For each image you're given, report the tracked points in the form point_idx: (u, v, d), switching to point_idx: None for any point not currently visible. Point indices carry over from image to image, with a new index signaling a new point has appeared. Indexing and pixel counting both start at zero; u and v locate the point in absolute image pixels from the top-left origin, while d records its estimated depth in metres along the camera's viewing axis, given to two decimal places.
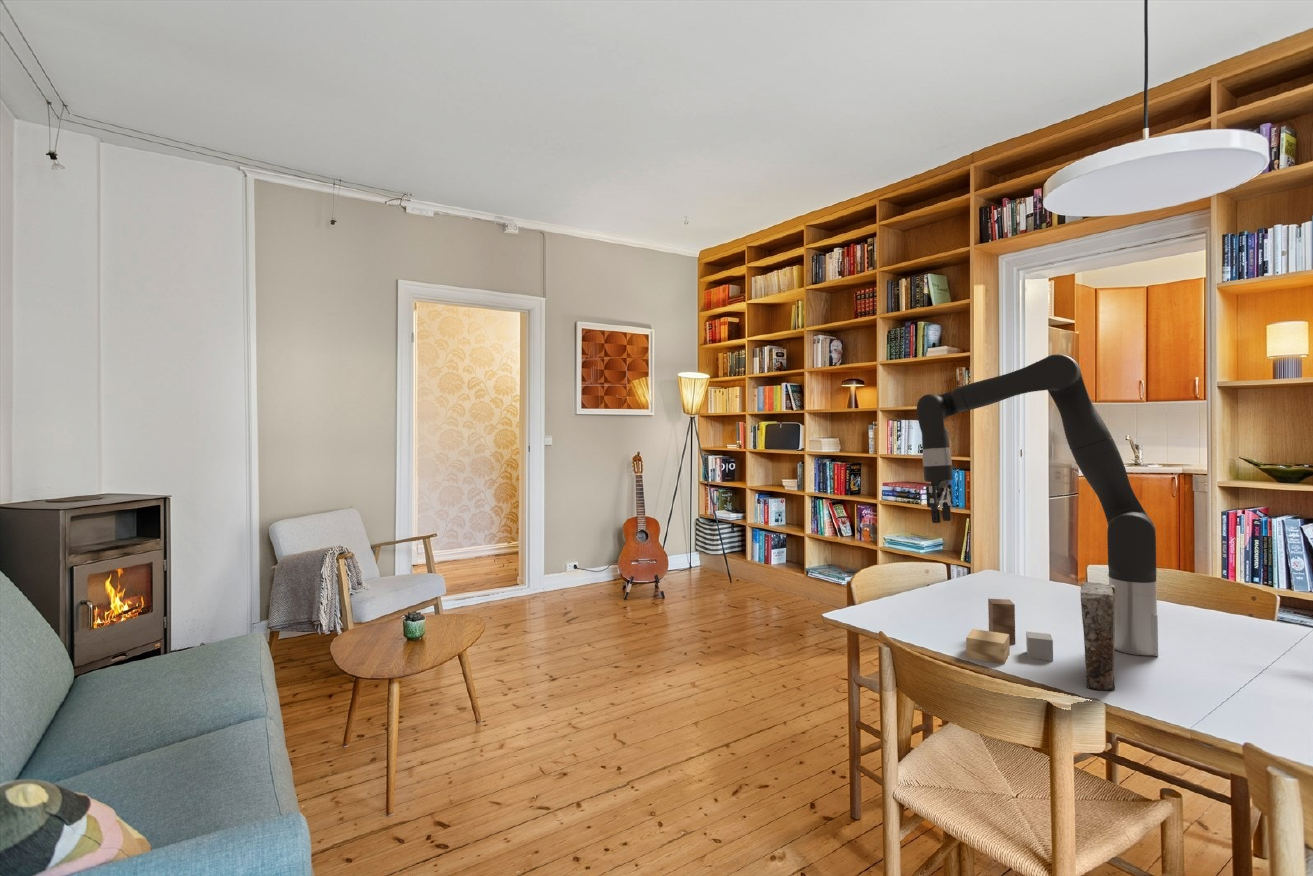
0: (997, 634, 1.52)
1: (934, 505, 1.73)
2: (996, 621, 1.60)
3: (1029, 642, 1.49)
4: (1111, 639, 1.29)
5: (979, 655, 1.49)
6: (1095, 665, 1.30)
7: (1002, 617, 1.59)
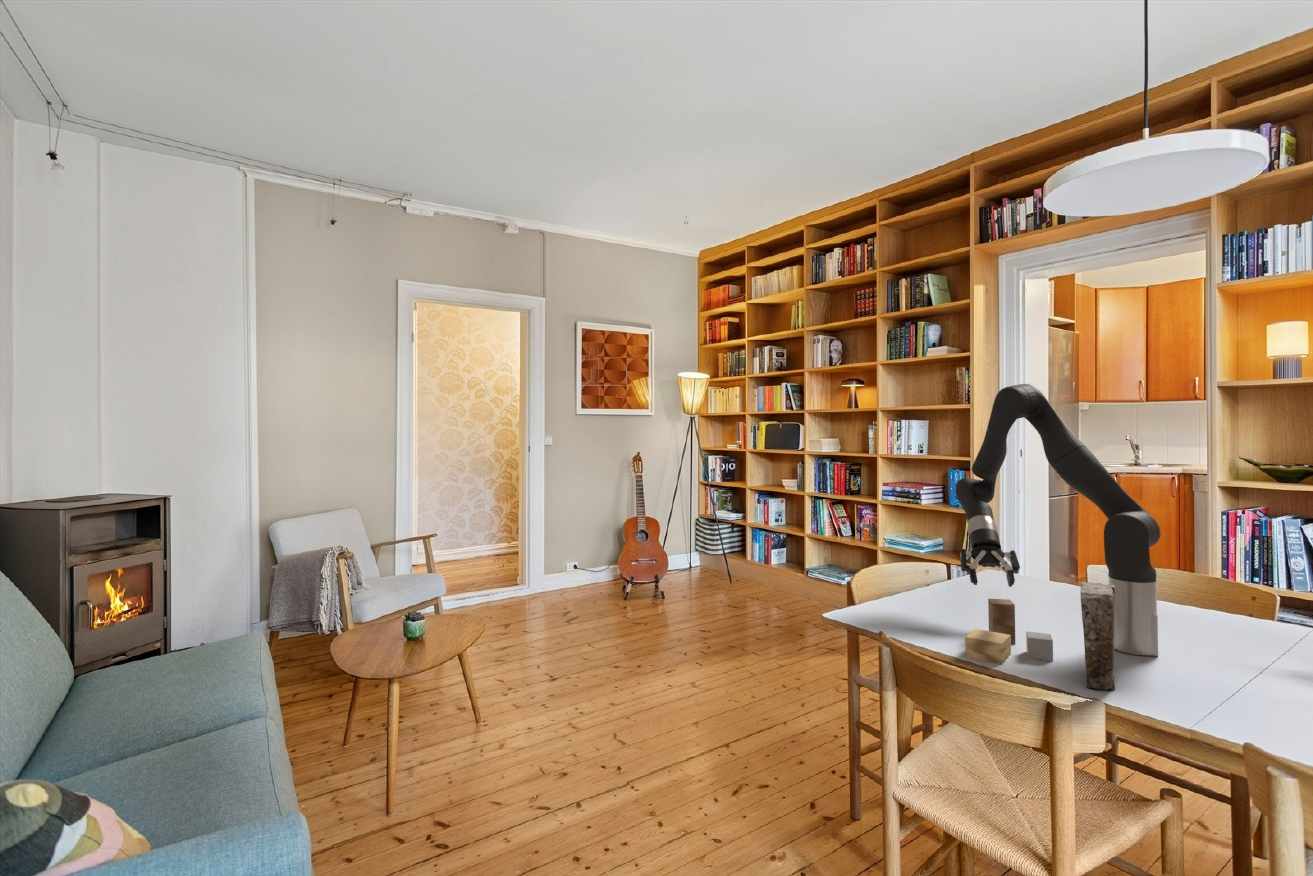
0: (998, 634, 1.52)
1: (962, 565, 1.75)
2: (996, 621, 1.60)
3: (1029, 642, 1.49)
4: (1111, 639, 1.29)
5: (978, 654, 1.49)
6: (1095, 665, 1.30)
7: (1002, 617, 1.59)
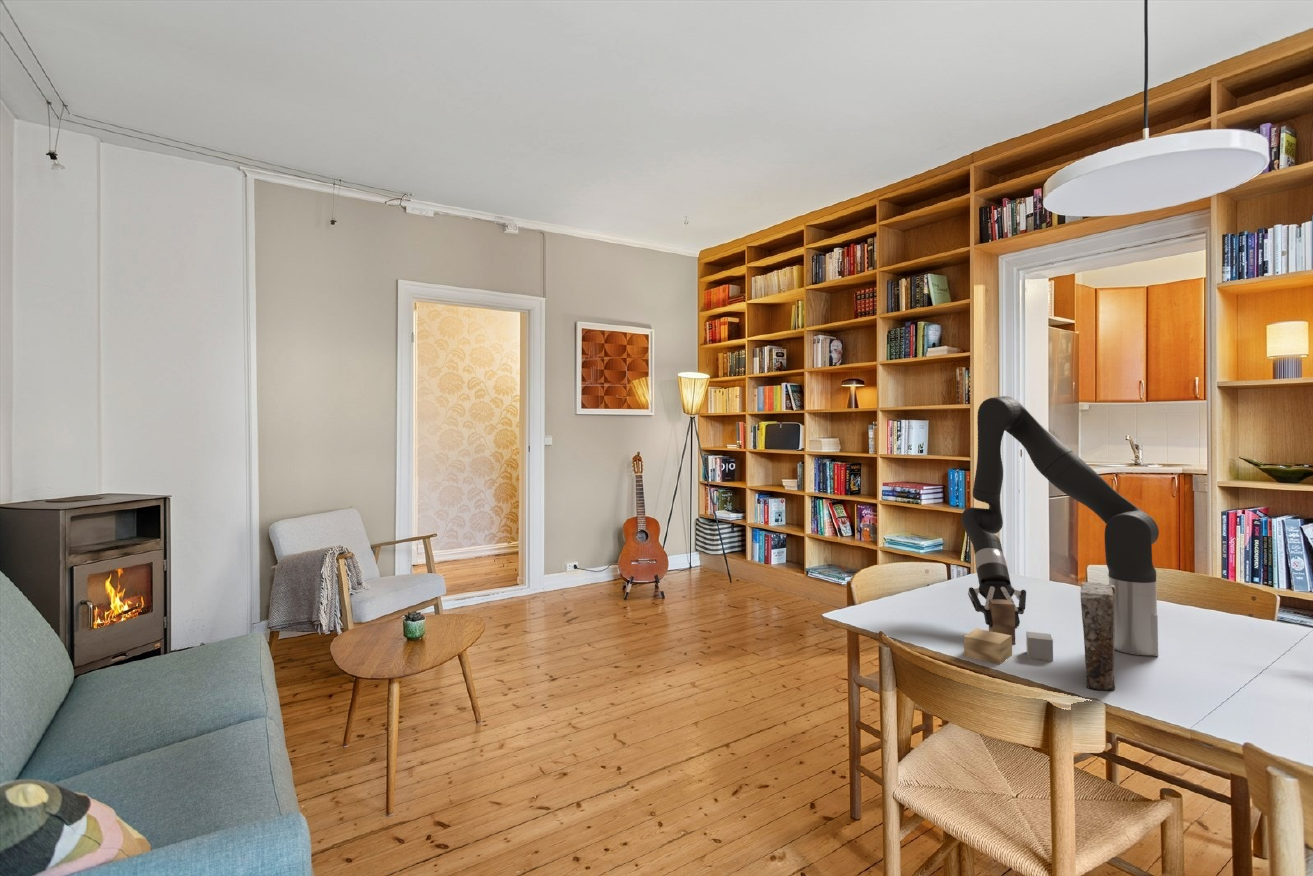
0: (999, 634, 1.52)
1: (976, 606, 1.64)
2: (996, 621, 1.60)
3: (1029, 642, 1.49)
4: (1111, 639, 1.29)
5: (976, 654, 1.49)
6: (1095, 665, 1.30)
7: (1002, 616, 1.59)
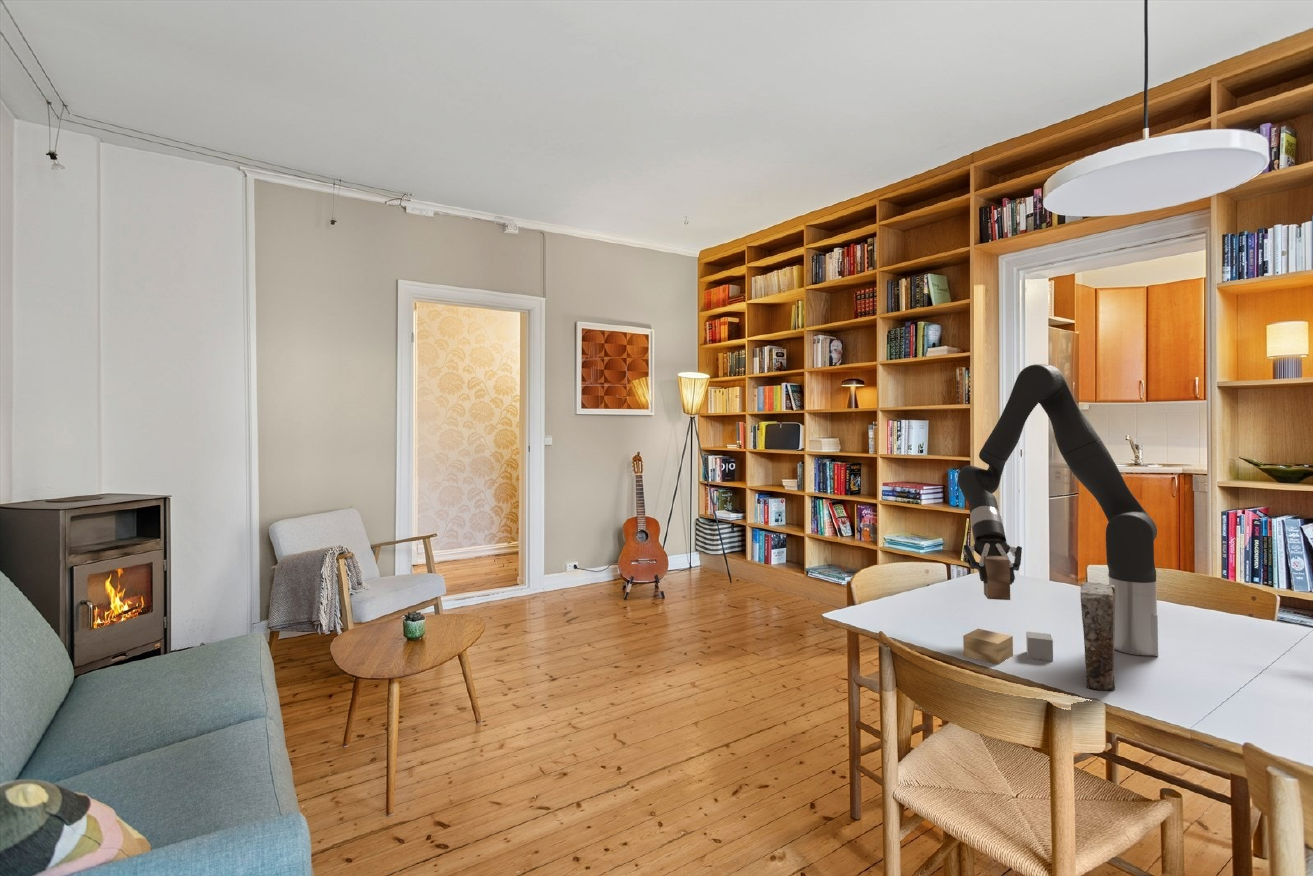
0: (1000, 635, 1.52)
1: (971, 563, 1.62)
2: (991, 577, 1.57)
3: (1029, 642, 1.49)
4: (1111, 639, 1.29)
5: (975, 653, 1.50)
6: (1095, 665, 1.30)
7: (997, 572, 1.57)
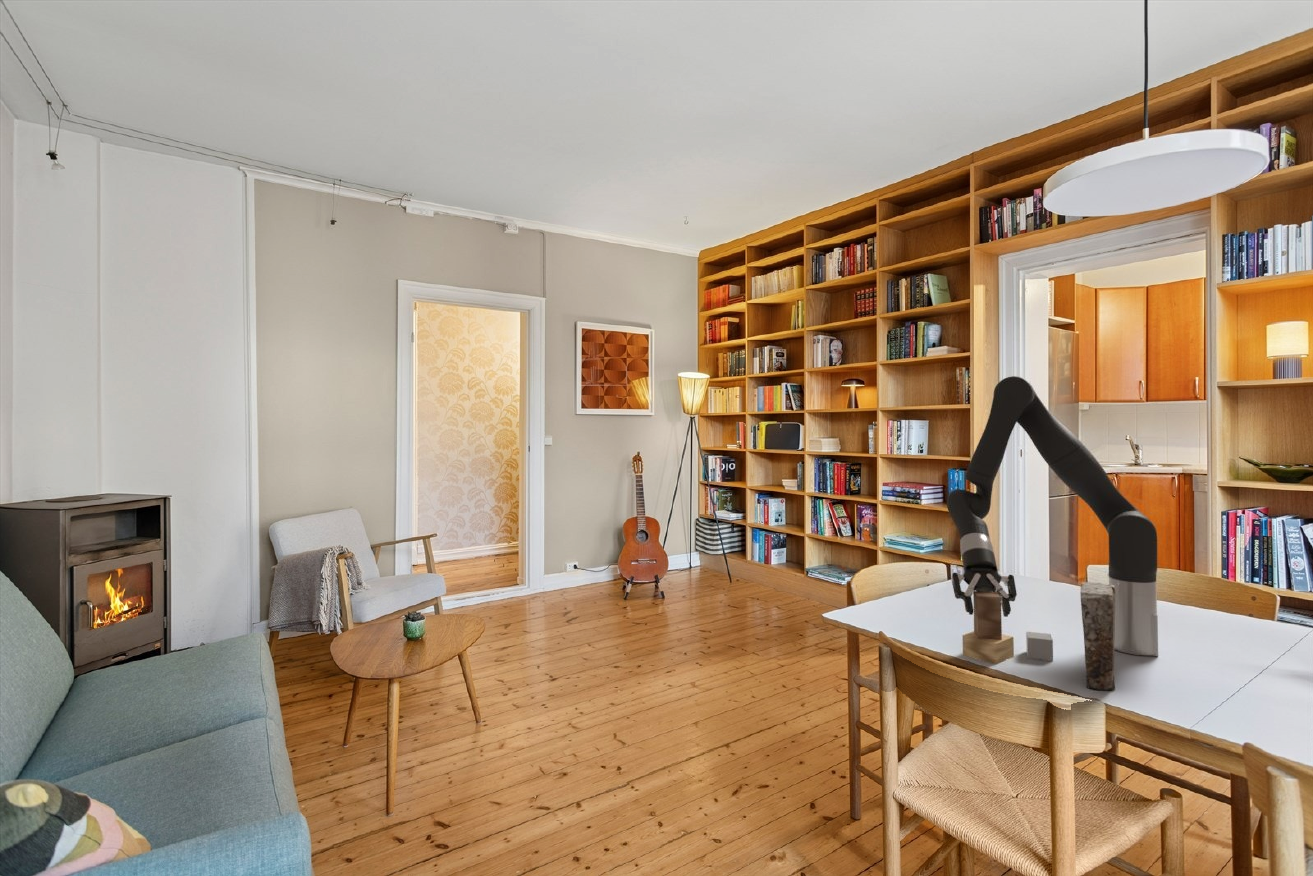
0: None
1: (956, 592, 1.54)
2: (981, 615, 1.49)
3: (1029, 642, 1.49)
4: (1111, 639, 1.29)
5: (974, 653, 1.50)
6: (1095, 665, 1.30)
7: (988, 610, 1.49)
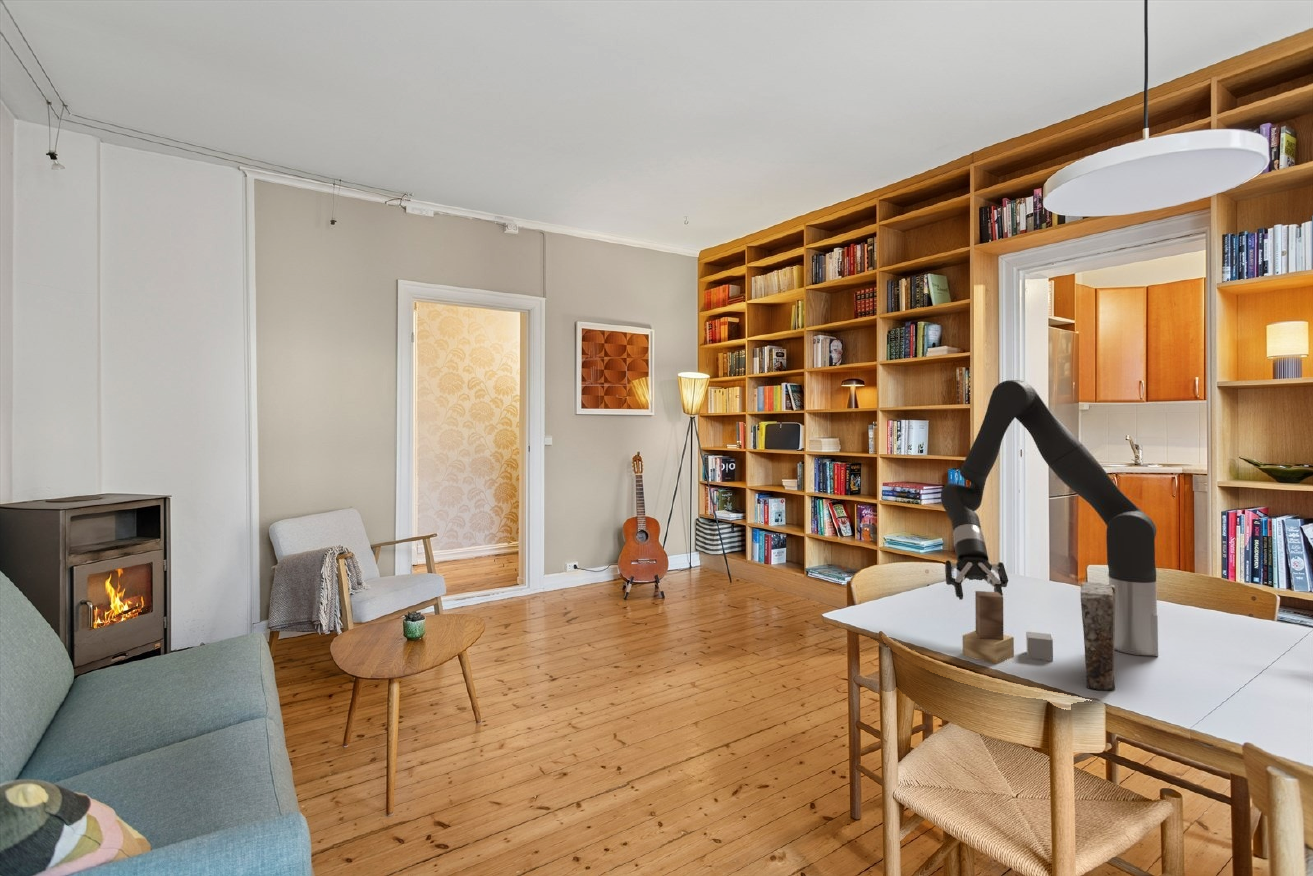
0: None
1: (947, 578, 1.64)
2: (983, 615, 1.49)
3: (1029, 642, 1.49)
4: (1111, 639, 1.29)
5: (974, 653, 1.50)
6: (1095, 665, 1.30)
7: (990, 610, 1.49)
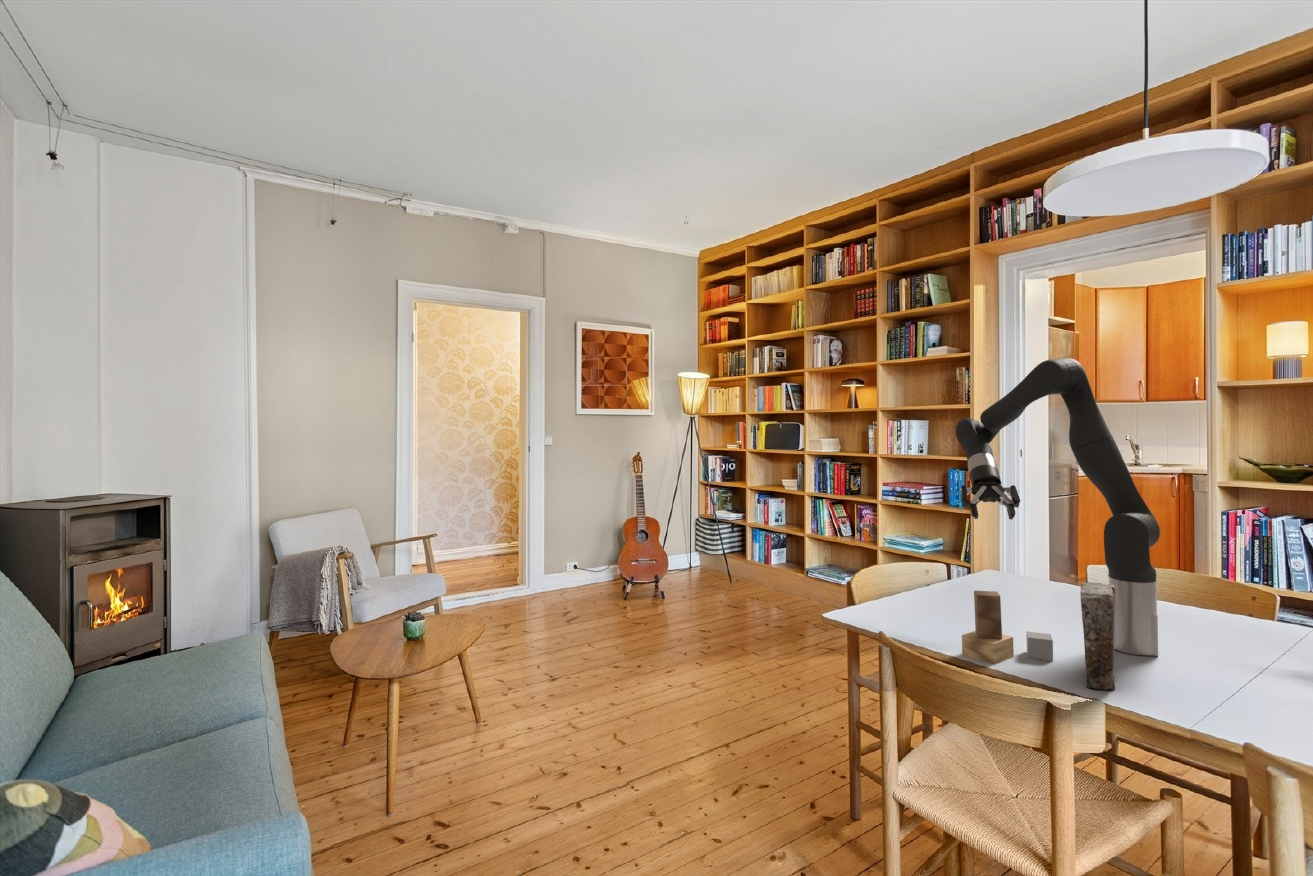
0: None
1: (962, 501, 1.76)
2: (981, 614, 1.50)
3: (1029, 642, 1.49)
4: (1111, 639, 1.29)
5: (973, 653, 1.50)
6: (1095, 665, 1.30)
7: (987, 609, 1.49)
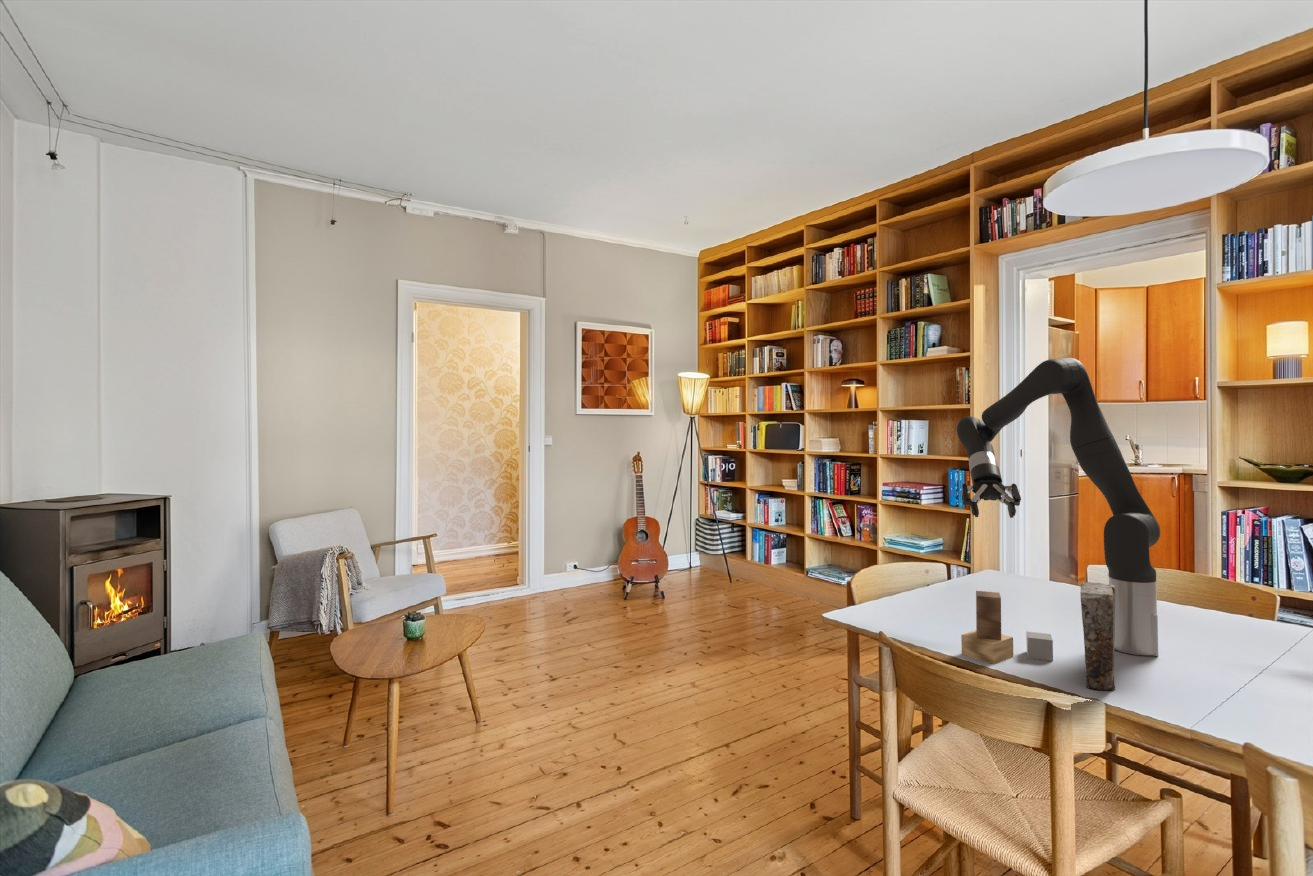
0: None
1: (963, 499, 1.76)
2: (981, 615, 1.49)
3: (1029, 642, 1.49)
4: (1111, 639, 1.29)
5: (972, 653, 1.50)
6: (1095, 665, 1.30)
7: (987, 610, 1.49)
